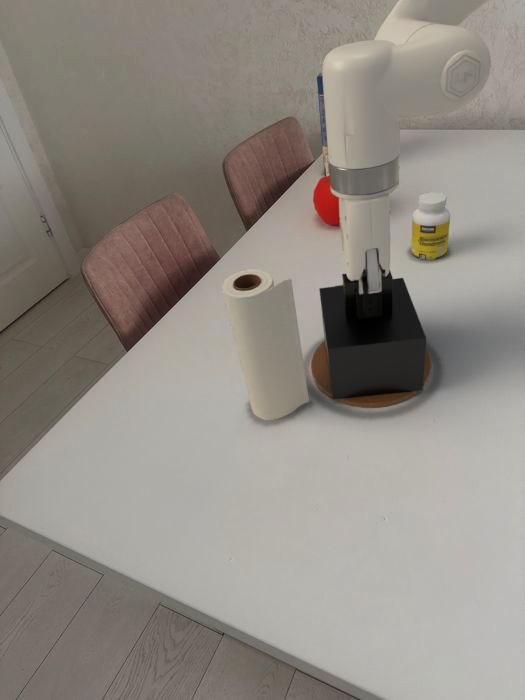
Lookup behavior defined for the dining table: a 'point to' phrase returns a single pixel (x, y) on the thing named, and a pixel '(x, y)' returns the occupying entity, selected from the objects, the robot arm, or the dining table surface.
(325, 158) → the juice carton
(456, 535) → the dining table surface
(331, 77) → the robot arm
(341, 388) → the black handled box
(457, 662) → the dining table surface
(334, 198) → the tomato
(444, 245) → the pill bottle
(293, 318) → the paper towel roll
